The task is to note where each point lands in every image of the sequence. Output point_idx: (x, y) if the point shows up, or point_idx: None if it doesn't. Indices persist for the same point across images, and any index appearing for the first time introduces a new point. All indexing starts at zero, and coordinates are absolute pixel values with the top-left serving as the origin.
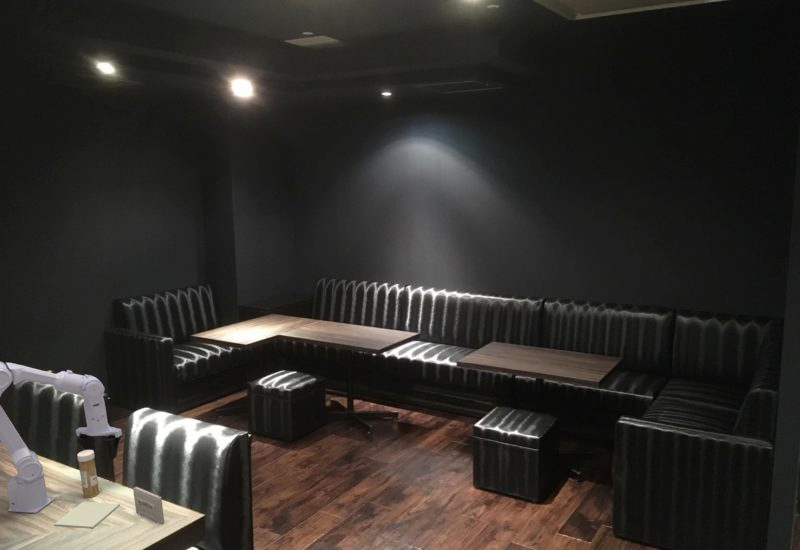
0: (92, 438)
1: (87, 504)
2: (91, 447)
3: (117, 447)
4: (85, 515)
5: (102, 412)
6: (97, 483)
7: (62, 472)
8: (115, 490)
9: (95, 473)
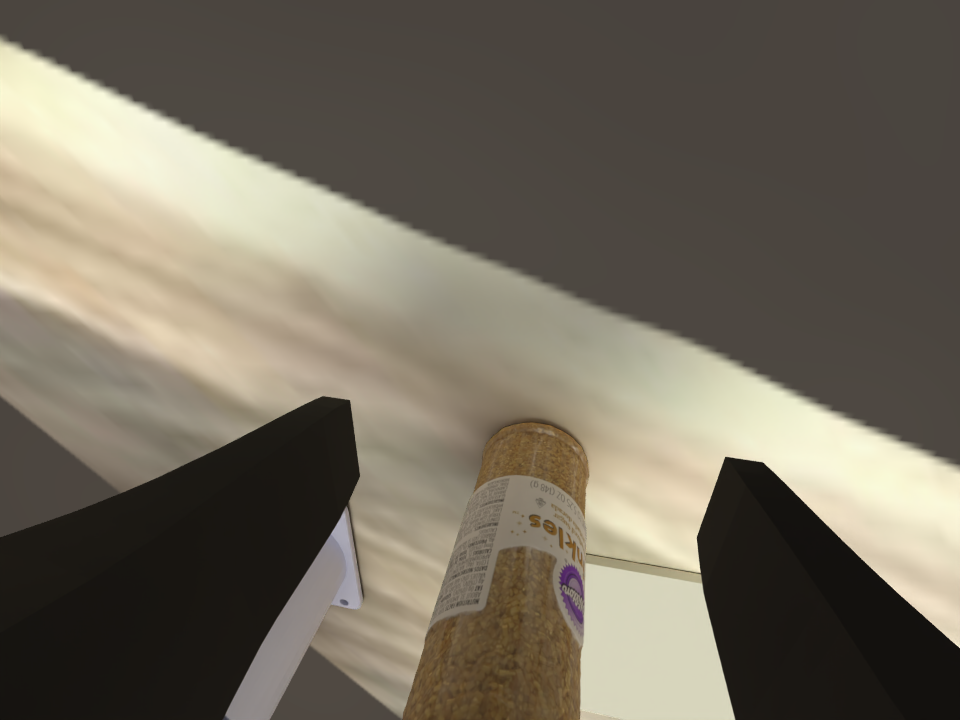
0: (65, 678)
1: (598, 586)
2: (252, 542)
3: (900, 608)
4: (654, 670)
5: None
6: (582, 512)
7: (43, 139)
8: (699, 419)
9: (583, 609)
